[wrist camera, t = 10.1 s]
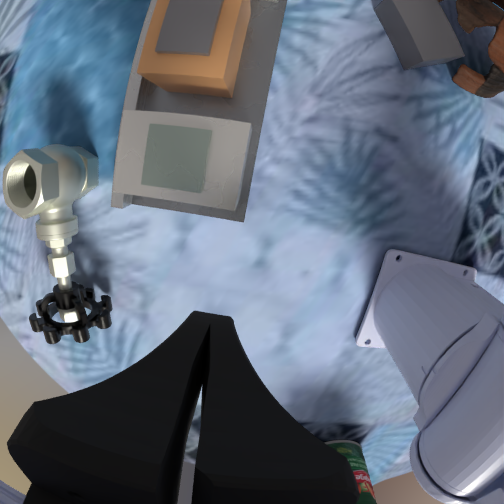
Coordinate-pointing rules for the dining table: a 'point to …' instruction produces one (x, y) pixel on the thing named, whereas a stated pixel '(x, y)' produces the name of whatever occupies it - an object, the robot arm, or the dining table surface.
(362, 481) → the canned tomato
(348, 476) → the robot arm
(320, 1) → the dining table surface
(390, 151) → the dining table surface
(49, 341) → the valve
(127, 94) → the rail plate
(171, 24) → the orange module
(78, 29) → the dining table surface
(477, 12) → the knobbed brown ring
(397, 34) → the dark gray block
